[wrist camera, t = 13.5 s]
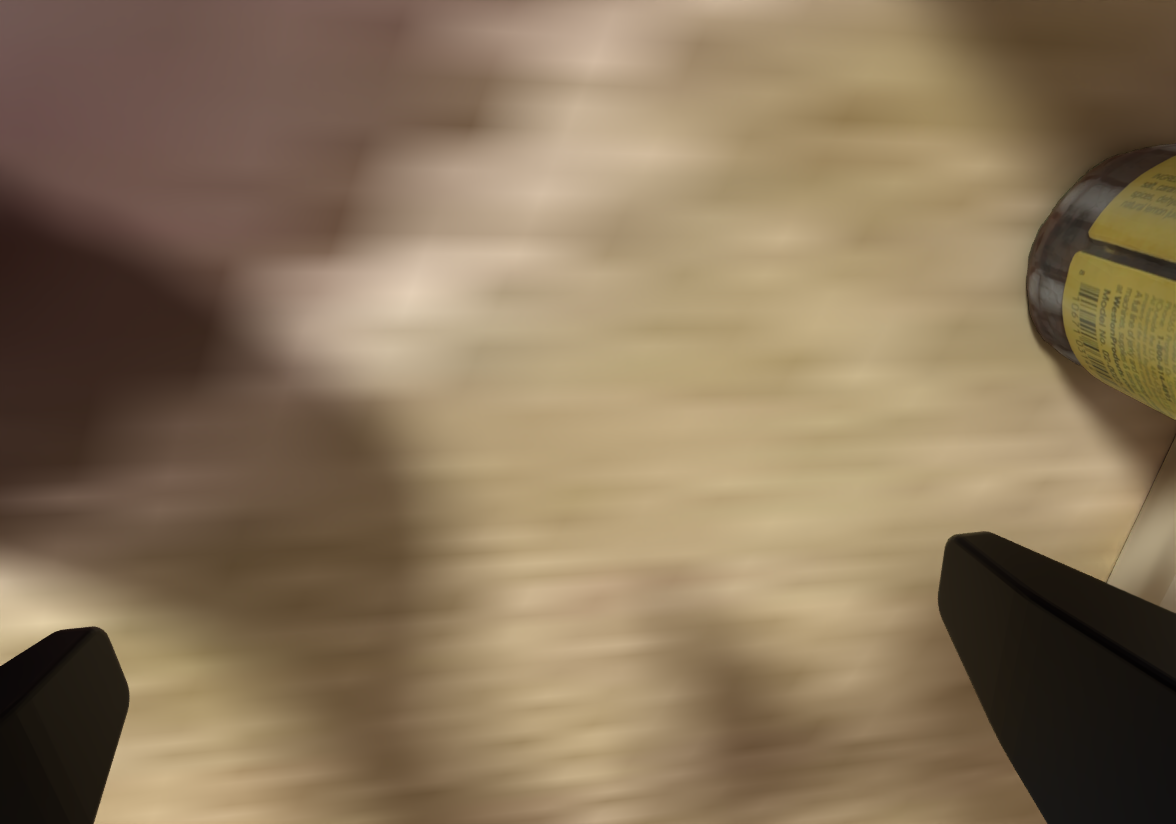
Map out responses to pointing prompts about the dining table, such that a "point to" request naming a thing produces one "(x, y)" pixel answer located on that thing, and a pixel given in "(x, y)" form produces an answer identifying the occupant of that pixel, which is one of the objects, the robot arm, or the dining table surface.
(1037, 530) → the dining table surface
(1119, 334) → the sauce bottle
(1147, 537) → the shelf plank
